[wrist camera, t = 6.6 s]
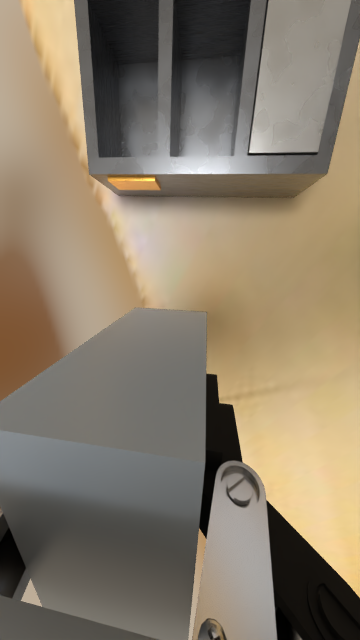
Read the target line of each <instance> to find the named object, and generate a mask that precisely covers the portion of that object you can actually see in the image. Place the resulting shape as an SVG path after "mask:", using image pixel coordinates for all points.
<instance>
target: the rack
mask: <svg viewBox="0 0 360 640" xmlns="http://www.w3.org/2000/svg"><path fill="white" fill-rule="evenodd" d="M74 4H75V16H76V27H77V39H78V51H79V62H80V74H81V85H82V97H83V108H84V120H85V132H86V143H87V155H88V166H89V174H90V175H91V176H92V177H94V178H95V179H96V180H98V181H99V182H101V183H102V184H103V185H105V186H106V187H107V188H109V189H110V190H112V191H113V192H114V193H116V194H117V195H119V196H206V197H295V196H297V195H298V194H299V193H301V192H302V191H304V190H305V189H306V188H308V187H309V186H311V185H312V184H313V183H315V182H316V181H318V180H319V179H321V178H322V177H323V176H325V175H326V174H327V173H328V169H329V165H330V161H331V156H332V152H333V148H334V144H335V140H336V135H337V131H338V127H339V123H340V119H341V115H342V110H343V106H344V102H345V98H346V94H347V89H348V85H349V81H350V77H351V73H352V68H353V64H354V60H355V56H356V52H357V47H358V43H359V39H360V0H74Z"/></svg>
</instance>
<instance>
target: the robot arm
mask: <svg viewBox="0 0 360 640" xmlns="http://www.w3.org/2000/svg"><path fill="white" fill-rule="evenodd" d="M199 528H200V530H201V531H202V533H203V534H204V536H205V538H206V539H207V541H206V547H205V554H204V561H203V568H202V574H201V582H200V588H199V595H198V603H197V609H196V616H195V623H194V629H193V636H192V640H360V598H359V597H358V596H357V594H356V593H355V592H354V591H353V590H352V588H351V587H350V586H349V585H348V584H347V583H346V581H345V580H344V579H343V578H342V577H341V576H340V575H339V574H338V573H337V572H336V571H335V570H334V569H333V568H332V567H331V566H330V565H329V564H328V563H327V562H326V561H325V560H324V559H323V558H322V557H321V556H320V555H319V554H318V553H317V552H316V551H315V550H314V548H313V547H312V546H311V545H310V544H309V543H308V542H307V541H306V540H305V539H304V538H303V537H302V536H301V535H300V534H299V533H298V532H297V531H296V530H295V529H294V528H293V527H292V526H291V525H290V524H289V523H288V522H287V521H286V520H285V519H284V518H283V517H282V515H281V514H280V513H279V512H278V511H277V510H276V509H275V508H274V507H273V506H272V505H271V504H270V503H269V502H268V501H267V500H266V493H265V488H264V485H263V483H262V481H261V479H260V477H259V476H258V475H257V473H256V472H255V471H254V470H253V469H252V468H251V467H249V466H248V465H246V464H244V463H243V462H242V456H241V450H240V444H239V438H238V432H237V426H236V421H235V415H234V409H233V405H230V404H221V403H219V396H218V383H217V375H214V374H206V439H205V470H204V481H203V491H202V501H201V512H200V522H199ZM29 580H30V576H29V573H28V571H27V568H26V566H25V564H24V561H23V559H22V557H21V554H20V552H19V549H18V547H17V545H16V542H15V540H14V537H13V535H12V533H11V530H10V528H9V526H8V523H7V521H6V518H5V516H4V514H3V511H2V509H1V507H0V640H159V639H155V638H152V637H148V636H144V635H141V634H137V633H134V632H130V631H127V630H123V629H120V628H116V627H113V626H109V625H106V624H102V623H98V622H95V621H91V620H88V619H84V618H80V617H77V616H73V615H70V614H66V613H62V612H59V611H55V610H51V609H48V608H44V607H41V606H37V605H33V604H30V603H26V602H22V601H21V599H22V597H23V594H24V592H25V589H26V587H27V585H28V583H29Z"/></svg>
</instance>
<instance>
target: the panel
mask: <svg viewBox="0 0 360 640" xmlns="http://www.w3.org/2000/svg"><path fill="white" fill-rule="evenodd" d="M206 347H207V312H199V311H183V310H167V309H151V308H134V309H133V310H131V311H130V312H128V313H127V314H125V315H124V316H123V317H121V318H119V319H118V320H117V321H115V322H114V323H112V324H111V325H109V326H108V327H107V328H105V329H104V330H102V331H101V332H99V333H98V334H97V335H95V336H94V337H92V338H91V339H89V340H88V341H86V342H85V343H84V344H82V345H81V346H79V347H78V348H77V349H75V350H74V351H72V352H71V353H69V354H68V355H66V356H65V357H64V358H62V359H61V360H59V361H58V362H56V363H55V364H54V365H52V366H51V367H49V368H48V369H46V370H45V371H43V372H42V373H40V374H39V375H38V376H36V377H35V378H33V379H32V380H31V381H29V382H27V383H26V384H25V385H23V386H22V387H20V388H19V389H17V390H16V391H15V392H13V393H12V394H10V395H9V396H7V397H6V398H5V399H3V400H2V401H0V507H1V509H2V511H3V514H4V516H5V518H6V521H7V523H8V526H9V528H10V530H11V533H12V535H13V537H14V540H15V542H16V545H17V547H18V549H19V552H20V554H21V557H22V559H23V561H24V564H25V566H26V568H27V571H28V573H29V576H30V578H31V580H32V583H33V585H34V587H35V590H36V592H37V595H38V597H39V599H40V602H41V604H42V607H44V608H48V609H51V610H55V611H59V612H62V613H66V614H70V615H73V616H77V617H80V618H84V619H88V620H91V621H95V622H98V623H102V624H106V625H109V626H113V627H116V628H120V629H123V630H127V631H130V632H134V633H137V634H141V635H144V636H148V637H152V638H155V639H159V640H188V636H189V624H190V615H191V604H192V593H193V584H194V574H195V563H196V553H197V543H198V532H199V522H200V512H201V501H202V491H203V481H204V470H205V439H206Z"/></svg>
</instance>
